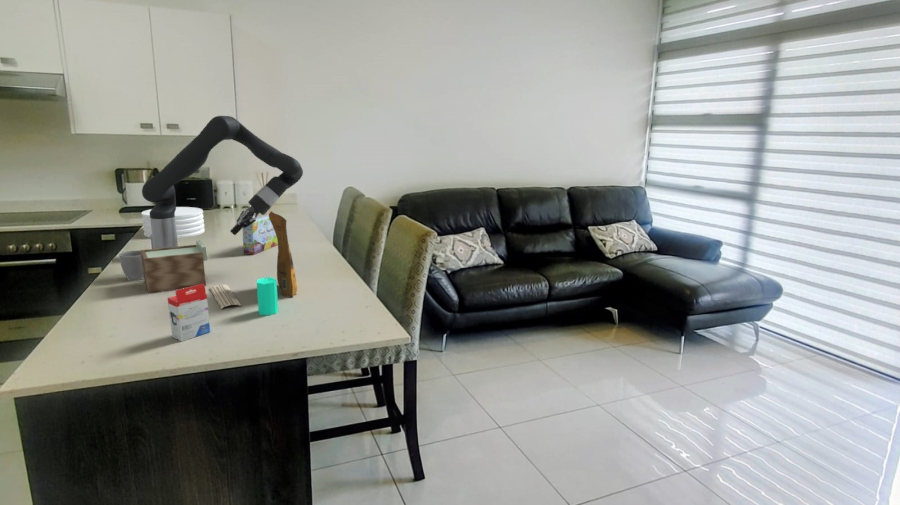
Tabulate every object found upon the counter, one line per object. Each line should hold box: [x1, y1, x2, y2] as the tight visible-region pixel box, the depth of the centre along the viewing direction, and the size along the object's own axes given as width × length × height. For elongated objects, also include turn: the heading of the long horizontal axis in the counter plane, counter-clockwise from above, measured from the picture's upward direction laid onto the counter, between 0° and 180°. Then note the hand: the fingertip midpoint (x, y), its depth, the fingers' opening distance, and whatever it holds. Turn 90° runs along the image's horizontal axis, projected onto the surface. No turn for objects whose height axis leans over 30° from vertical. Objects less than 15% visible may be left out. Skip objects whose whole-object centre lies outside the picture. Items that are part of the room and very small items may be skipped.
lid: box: [146, 239, 208, 262], centre depth 179 cm, size 18×12×5 cm, turn 126°
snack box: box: [242, 214, 278, 256], centre depth 232 cm, size 21×6×15 cm, turn 168°
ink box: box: [167, 284, 211, 342], centre depth 138 cm, size 8×5×15 cm, turn 145°
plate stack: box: [141, 206, 206, 239], centre depth 260 cm, size 28×28×12 cm
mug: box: [118, 250, 144, 281], centre depth 187 cm, size 12×9×10 cm
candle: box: [256, 275, 279, 316], centre depth 157 cm, size 6×6×12 cm
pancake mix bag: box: [268, 210, 298, 298], centre depth 175 cm, size 7×19×28 cm, turn 27°
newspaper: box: [209, 284, 242, 310], centre depth 170 cm, size 24×7×2 cm, turn 33°
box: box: [139, 244, 207, 294], centre depth 180 cm, size 18×14×12 cm
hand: (232, 233), depth 191 cm, fingers closed
